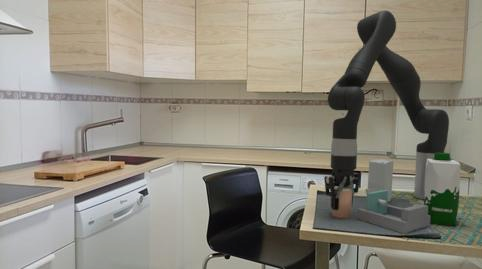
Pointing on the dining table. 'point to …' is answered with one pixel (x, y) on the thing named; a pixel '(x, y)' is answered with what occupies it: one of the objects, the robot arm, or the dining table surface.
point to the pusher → (377, 201)
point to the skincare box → (380, 176)
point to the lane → (398, 218)
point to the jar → (344, 204)
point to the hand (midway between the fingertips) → (341, 208)
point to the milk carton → (442, 189)
